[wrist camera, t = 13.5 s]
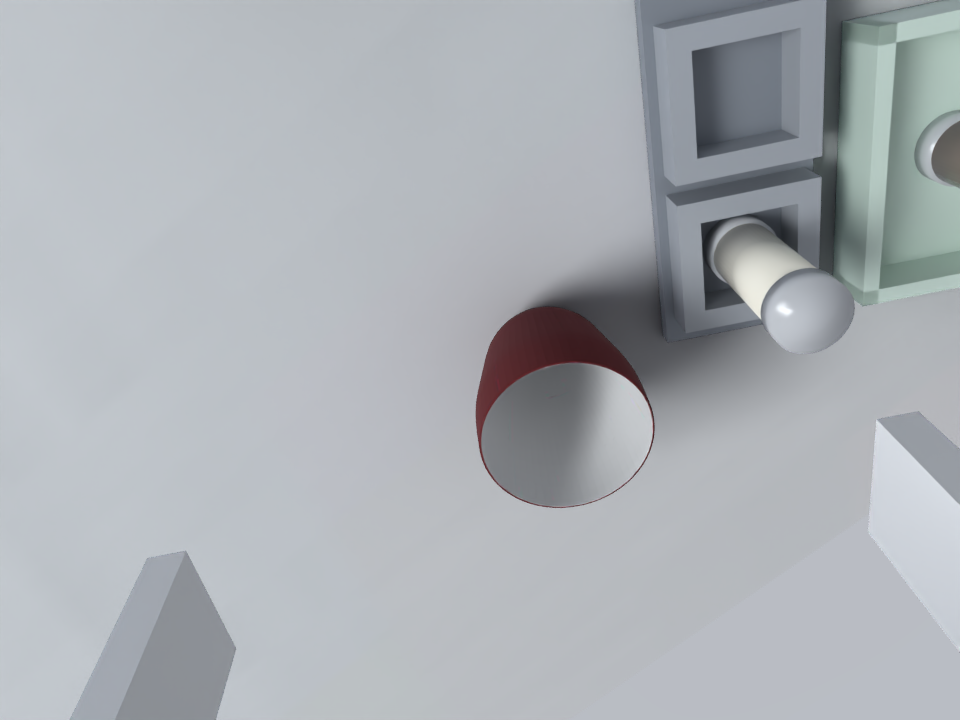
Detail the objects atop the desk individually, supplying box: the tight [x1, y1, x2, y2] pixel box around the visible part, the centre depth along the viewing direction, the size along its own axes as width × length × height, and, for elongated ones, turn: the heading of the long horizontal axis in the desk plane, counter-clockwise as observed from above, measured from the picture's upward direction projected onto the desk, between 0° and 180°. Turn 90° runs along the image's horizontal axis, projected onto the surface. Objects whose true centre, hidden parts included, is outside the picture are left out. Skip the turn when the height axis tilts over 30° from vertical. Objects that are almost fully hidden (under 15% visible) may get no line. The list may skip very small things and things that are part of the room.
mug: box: [476, 307, 655, 508], centre depth 38 cm, size 11×8×10 cm
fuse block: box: [635, 0, 826, 343], centre depth 37 cm, size 18×8×3 cm, turn 11°
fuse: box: [703, 214, 855, 354], centre depth 35 cm, size 4×4×9 cm
